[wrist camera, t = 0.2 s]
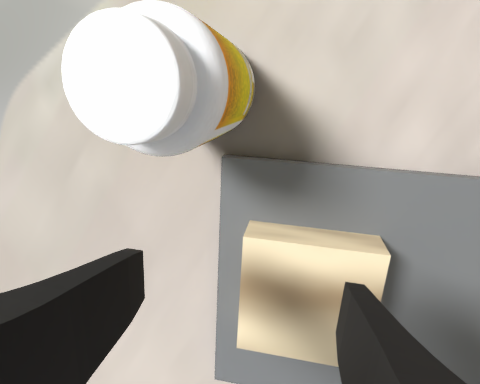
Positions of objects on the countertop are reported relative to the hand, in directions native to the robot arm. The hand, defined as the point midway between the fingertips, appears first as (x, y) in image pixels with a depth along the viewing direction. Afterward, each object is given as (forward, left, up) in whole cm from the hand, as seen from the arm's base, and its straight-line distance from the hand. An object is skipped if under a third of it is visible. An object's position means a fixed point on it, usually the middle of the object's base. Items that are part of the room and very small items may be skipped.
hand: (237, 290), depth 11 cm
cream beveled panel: (-5, -3, -9) cm, 11 cm away
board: (-6, -8, -10) cm, 14 cm away
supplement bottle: (+7, +4, -10) cm, 13 cm away
